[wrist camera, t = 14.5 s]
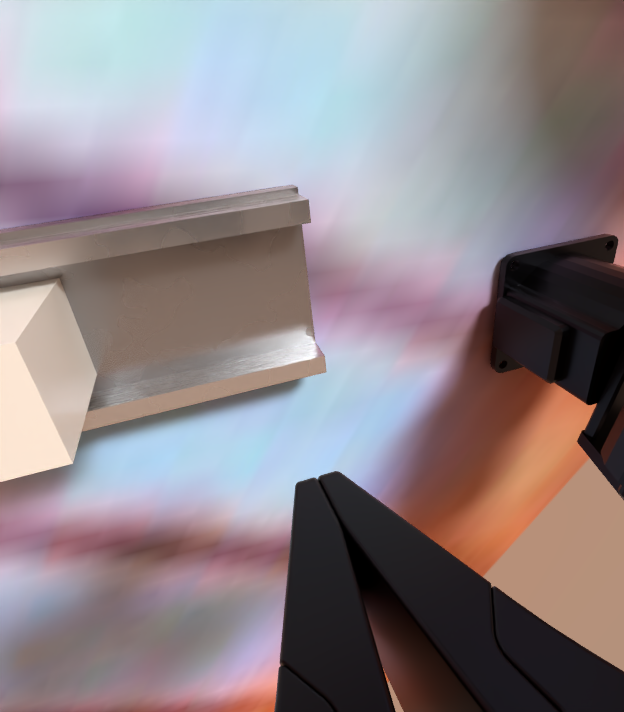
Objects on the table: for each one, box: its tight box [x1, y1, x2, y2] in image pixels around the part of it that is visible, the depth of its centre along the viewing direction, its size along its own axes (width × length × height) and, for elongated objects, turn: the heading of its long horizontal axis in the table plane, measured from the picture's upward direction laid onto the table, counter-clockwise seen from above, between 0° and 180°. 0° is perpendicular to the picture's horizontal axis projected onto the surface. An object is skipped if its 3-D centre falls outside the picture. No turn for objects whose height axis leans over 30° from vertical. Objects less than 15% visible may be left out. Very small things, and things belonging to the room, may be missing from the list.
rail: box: [0, 185, 326, 432], centre depth 14 cm, size 20×8×7 cm, turn 96°
